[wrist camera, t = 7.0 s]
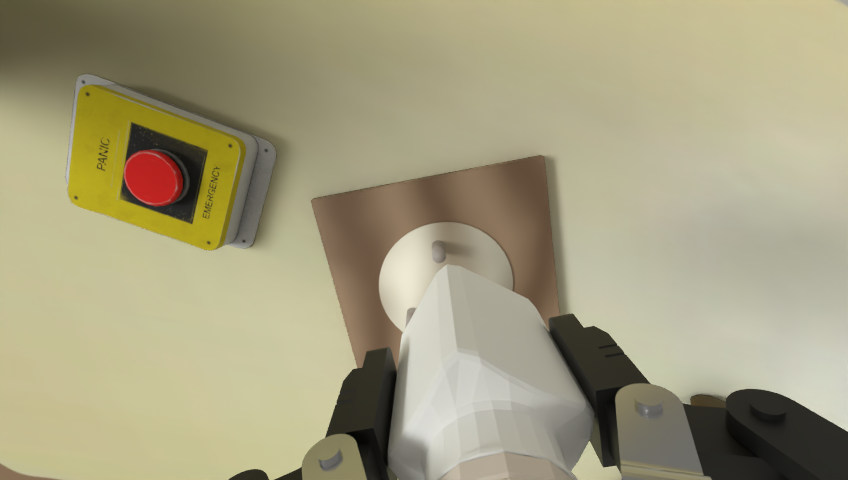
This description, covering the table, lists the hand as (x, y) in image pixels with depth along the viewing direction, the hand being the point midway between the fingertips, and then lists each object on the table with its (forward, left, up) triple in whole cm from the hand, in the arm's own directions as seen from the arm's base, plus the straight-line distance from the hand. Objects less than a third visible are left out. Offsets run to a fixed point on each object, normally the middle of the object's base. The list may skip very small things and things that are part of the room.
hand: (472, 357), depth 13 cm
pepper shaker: (0, 0, -3) cm, 3 cm away
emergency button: (-20, +8, -21) cm, 30 cm away
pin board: (-1, -6, -20) cm, 21 cm away
